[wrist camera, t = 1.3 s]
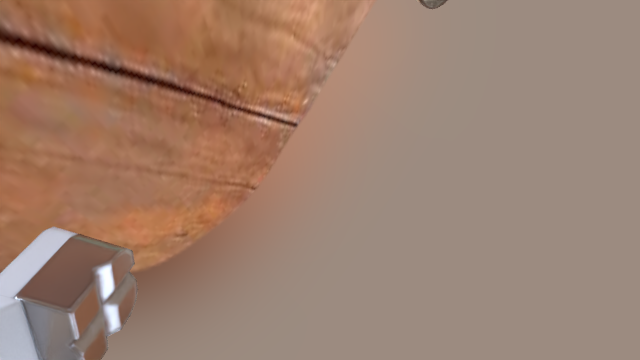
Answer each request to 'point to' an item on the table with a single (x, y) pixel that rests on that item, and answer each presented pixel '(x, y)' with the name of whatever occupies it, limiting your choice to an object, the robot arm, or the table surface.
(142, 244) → the table surface
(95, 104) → the table surface
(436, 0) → the capped cylinder
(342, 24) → the table surface
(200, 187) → the table surface
